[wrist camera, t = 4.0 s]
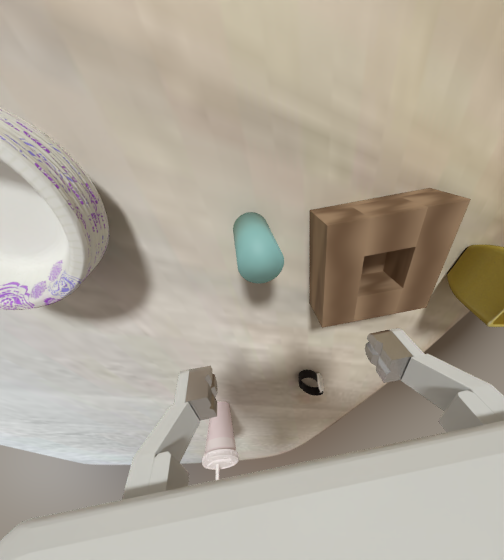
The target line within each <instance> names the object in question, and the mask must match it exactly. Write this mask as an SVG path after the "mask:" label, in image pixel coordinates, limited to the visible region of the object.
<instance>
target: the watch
mask: <svg viewBox="0 0 504 560" xmlns="http://www.w3.org/2000/svg"><path fill="white" fill-rule="evenodd" d="M304 378H313V379H315V380H316V381H317V383H318V387H310V386H307V385H305V384H304V383H303V382H302V379H304ZM299 386H300V388H302V389H303V391H305V392H306V393H308V394H311V395H321V394H323V391H324V384H323V379H322V376H321V374H320V373H315V372H314V371H312V370H303V371H301V372H300V373H299Z"/></svg>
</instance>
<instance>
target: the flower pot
mask: <svg viewBox="0 0 504 560" xmlns="http://www.w3.org/2000/svg"><path fill="white" fill-rule="evenodd" d="M447 277H448V282H449V285H450V288H451V290H452V292H453V293H454V295H455V296H456V297H457V298H458V300H459V301H460V302H462V303H463V304H464V305H465V306H466V307H467V308H468V309H469V310H470V311H471V312H473V313H474V314H475V315H476V316H477V317H478V318H479V319H480V320H482V321H483V322H484V323H485V324H486V325H487V326H489V327H504V247H500V246H494V245H471V246H469V247H468V248H467V249H466V250H465V252H464V253H463V254H462V256H461V257H460V258H459V260H458V261H457V262H456V264H455V265H454V266H453V268H452V269H451V270H450V271H449V273H448V275H447Z"/></svg>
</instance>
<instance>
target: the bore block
mask: <svg viewBox="0 0 504 560" xmlns="http://www.w3.org/2000/svg"><path fill="white" fill-rule="evenodd" d="M470 200H471V199H468V198H464V197H461V196H457V195H453V194H450V193H446V192H443V191H439V190H435V189H432V188H427V189H422V190H417V191H411V192H406V193H400V194H395V195H390V196H384V197H379V198H373V199H368V200H363V201H357V202H352V203H346V204H341V205H336V206H330V207H325V208H319V209H314V210H310V305H311V307H312V309H313V311H314V313H315V315H316V316H317V318H318V320H319V322H320V324H321V326H322V328H323V327H328V326H333V325H338V324H343V323H349V322H354V321H359V320H364V319H369V318H374V317H380V316H385V315H390V314H395V313H400V312H405V311H411V310H416V309H421V308H426V307H427V304H428V302H429V300H430V297H431V295H432V292H433V290H434V287H435V285H436V282H437V280H438V278H439V275H440V273H441V270H442V268H443V265H444V263H445V261H446V258H447V256H448V253H449V251H450V248H451V246H452V243H453V241H454V239H455V236H456V234H457V231H458V229H459V226H460V224H461V222H462V219H463V217H464V214H465V212H466V209H467V207H468V204H469V202H470Z"/></svg>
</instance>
